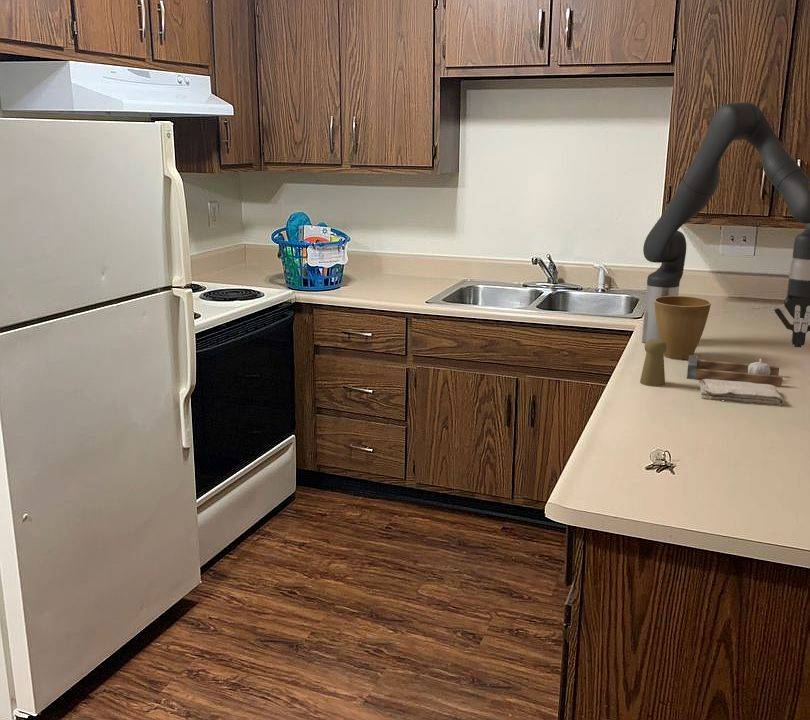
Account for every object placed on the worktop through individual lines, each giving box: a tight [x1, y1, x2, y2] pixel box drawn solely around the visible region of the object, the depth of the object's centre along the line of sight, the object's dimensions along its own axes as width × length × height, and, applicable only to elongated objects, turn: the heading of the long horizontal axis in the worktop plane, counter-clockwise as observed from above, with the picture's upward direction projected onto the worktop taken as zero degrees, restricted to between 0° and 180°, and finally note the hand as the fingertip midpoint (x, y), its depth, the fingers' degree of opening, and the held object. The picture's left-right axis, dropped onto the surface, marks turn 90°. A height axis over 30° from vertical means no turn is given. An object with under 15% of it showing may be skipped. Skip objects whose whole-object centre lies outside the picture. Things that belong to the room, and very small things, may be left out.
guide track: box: [686, 354, 783, 388], centre depth 209 cm, size 22×11×4 cm, turn 70°
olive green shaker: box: [639, 339, 667, 387], centre depth 202 cm, size 6×6×11 cm
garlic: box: [748, 358, 770, 375], centre depth 206 cm, size 6×5×5 cm
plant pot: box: [654, 295, 712, 361], centre depth 227 cm, size 15×15×16 cm
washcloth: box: [698, 379, 785, 407], centre depth 193 cm, size 12×18×3 cm, turn 74°
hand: (797, 346), depth 202 cm, fingers closed
